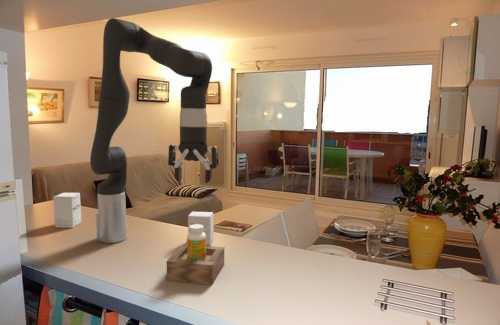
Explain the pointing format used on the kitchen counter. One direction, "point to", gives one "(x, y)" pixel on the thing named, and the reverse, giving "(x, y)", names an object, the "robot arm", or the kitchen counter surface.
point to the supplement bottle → (196, 243)
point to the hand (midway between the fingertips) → (193, 181)
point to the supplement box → (67, 210)
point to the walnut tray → (195, 266)
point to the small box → (204, 220)
